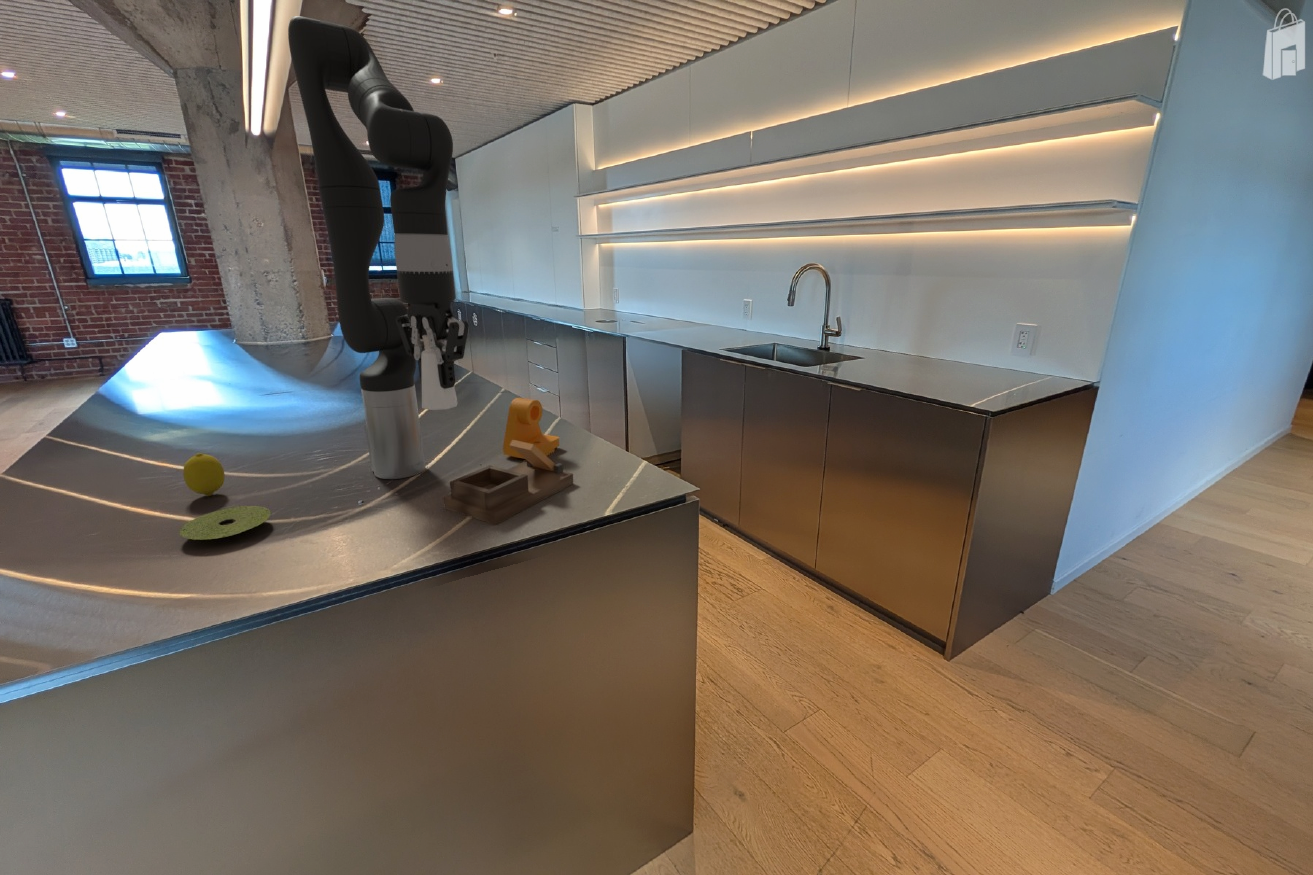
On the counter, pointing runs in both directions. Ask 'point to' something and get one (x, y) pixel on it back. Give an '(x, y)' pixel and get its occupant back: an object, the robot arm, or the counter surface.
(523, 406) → the bracket
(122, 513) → the counter surface
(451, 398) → the salt shaker
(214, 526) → the green abrasive disc
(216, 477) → the lemon
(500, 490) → the brown open tray piece
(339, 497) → the counter surface
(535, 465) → the tan flat block
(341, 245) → the robot arm
